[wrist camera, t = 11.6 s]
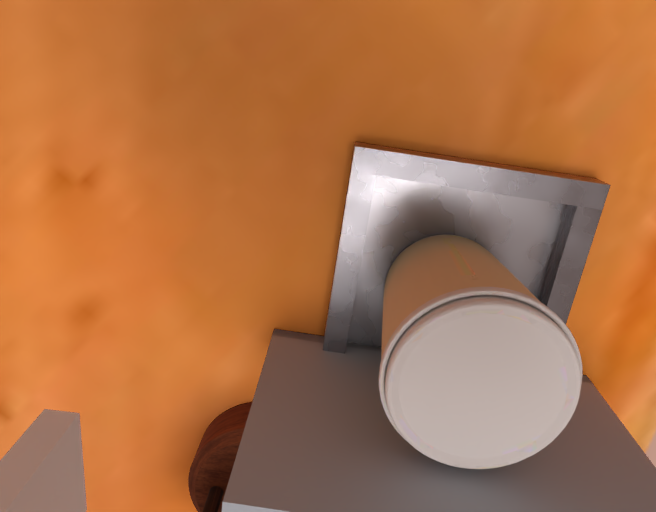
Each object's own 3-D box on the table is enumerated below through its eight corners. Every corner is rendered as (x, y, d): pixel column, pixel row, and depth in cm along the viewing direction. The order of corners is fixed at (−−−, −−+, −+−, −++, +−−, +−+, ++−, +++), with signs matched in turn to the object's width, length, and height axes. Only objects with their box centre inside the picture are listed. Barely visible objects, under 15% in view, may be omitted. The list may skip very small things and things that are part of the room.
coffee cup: (468, 372, 38) (517, 502, 27) (347, 318, 37) (345, 429, 26) (542, 258, 35) (632, 351, 24) (413, 196, 34) (442, 261, 23)
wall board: (274, 328, 38) (222, 501, 23) (586, 375, 38) (737, 577, 23) (266, 389, 40) (213, 588, 25) (565, 434, 40) (694, 658, 25)
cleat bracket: (354, 141, 34) (354, 146, 32) (596, 178, 34) (610, 185, 32) (324, 336, 38) (322, 350, 36) (536, 368, 38) (546, 383, 36)
